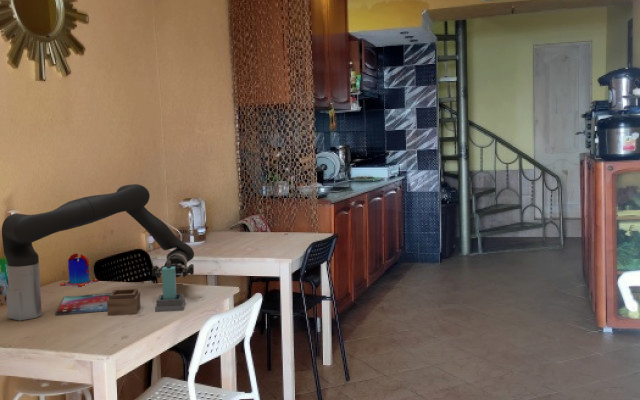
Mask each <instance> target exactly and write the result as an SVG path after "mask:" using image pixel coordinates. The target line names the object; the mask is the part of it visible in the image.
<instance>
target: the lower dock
mask: <svg viewBox="0 0 640 400" xmlns="http://www.w3.org/2000/svg"><path fill="white" fill-rule="evenodd" d="M176 294H177V299H168V300H163V294H159V295H158V297H157V299H156V303H155V306H154V310H155V313H157V312H175V311H176V312H178V311H184V310H185V309H184V308H185V306H186V298H184V297H185V296H184V293H176Z"/></svg>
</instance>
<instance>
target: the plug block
mask: <svg viewBox="0 0 640 400" xmlns="http://www.w3.org/2000/svg"><path fill="white" fill-rule="evenodd" d="M165 263H166V265H167V267H163V268H162V276H161V280H162V282H161V283H162V295H163V300H168V299H177V294H178V293H177V277H176V267H171V261H170V260H168V261H167V260H166V261H165Z"/></svg>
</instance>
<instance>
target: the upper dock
mask: <svg viewBox="0 0 640 400" xmlns="http://www.w3.org/2000/svg"><path fill="white" fill-rule="evenodd" d="M110 293H111V294H110V295H109V298H108V300H107V309H108V312H107V316H118V315H119V316H121V315H136V314H137V313H138V312H139V310H140V308H141V305H142V304H141V292H140V291H139V289H138V288H133V289H128V288H127V289H113V290H112V291H111V292H110Z"/></svg>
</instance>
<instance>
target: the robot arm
mask: <svg viewBox="0 0 640 400" xmlns="http://www.w3.org/2000/svg"><path fill="white" fill-rule="evenodd" d="M150 197H151V195H150V192H149V190H148V188H147V187H145V186H144V185H141V184H138V183H135V184H133V183H132V184H125V185H122V186H120V187H119V188H118V189H117V190H116V192H112V193H105V194H103V193H102V194H96V195H95V194H94V195H89V196H84V197H80V198H76V199H73V200H70V201H67V202H66V203H64V204H62V205H60V206H58V207H57V208H55V209H52V210H51V211H47V212H42V213H41V212H40V213H36V214H23V213H13V214H10V215H8V216H6V218H5V219H4V220H3V222H2V225H1V237H2V239H1V240H2V249H3V250H2V251H3V255H4V257H5V259H6V264H7V279H8V280H7V281H8V284H7V285H8V288H6V290H5V293H6V294H5V295H6V310H7V319H10V320H15V321H25V320H31V319H36V318H39V317H41V316H42V315H43V312H42V311H43V310H42V309H43V308H42V293H41V291H42V290H41V279H40V278H41V277H40V263H39V262H40V259H39V257H40V256H39V253H37V252H36V250H35V249H34V246H33V243H35V242H37V241H39V240H42V239H44V238H47V237H48V236H50V235H53V234H56V233H59V232H65V231H68V230H72V229H76V228H79V227H83V226H86V225H89V224H93V223H95V222H99V221H100V220H103V219H106V218H109V217H111V216H114V215H117V214H119V213H123V212H124V213H127V214H128V215H129V216H130V217H132V219H134V221H136V222H137V223H138V224H139V225H141V227H143V229H145V231H146V232H147V233H148V234H149V235H150V236H151V237H152V238H153V240H154V241H155V242H156V244H158V246H159V247H160V248H161V249H162V250H163V251H169V250H172V249H173V250H172V251H170V252H169V253H167V254H166V261H168V260H170V261H171V267H176V278H179V277H181V276H182V278H186V276H188V275H192V276H193V275H194V274H195V273H194V272H195V269H194V268H195V267H194V264H191V263H190V264H189V265H188V263H189V262H190V261H191V260H193V259H194V257H195V252H194V249H193V248H192V247H191V246H190V245H189V244H188V243H186V242H185V241H183V240H181V239H180V238H179V237H178V236H177V235H176V234H175V233H174V232H173V231H172V229H171V228H170V227H169V226H168V225H167V224H166V223H165V222H164V221H163V220H161V219H160V218H159V217H157V216H156V215H154V214H153V213H151V211H149V210H148V209H147V208H146V205H147V204H148V203H149V201H150ZM163 267H167V265H166V262H164V265H162V266H160V267H159V265H154V266H153V267H152V268H151V276H152V277H156V278H157V279H160V278H162V268H163Z"/></svg>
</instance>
